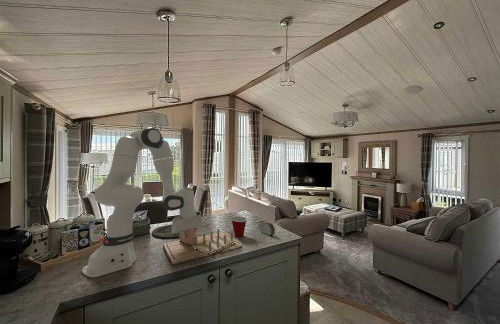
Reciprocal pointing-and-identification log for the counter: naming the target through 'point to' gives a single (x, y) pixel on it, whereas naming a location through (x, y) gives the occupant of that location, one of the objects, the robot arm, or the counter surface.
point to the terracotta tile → (189, 236)
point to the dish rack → (213, 243)
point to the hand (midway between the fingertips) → (187, 236)
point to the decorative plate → (165, 232)
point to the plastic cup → (239, 225)
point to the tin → (266, 228)
